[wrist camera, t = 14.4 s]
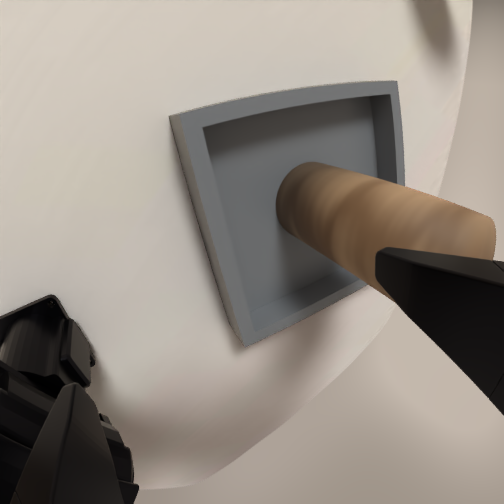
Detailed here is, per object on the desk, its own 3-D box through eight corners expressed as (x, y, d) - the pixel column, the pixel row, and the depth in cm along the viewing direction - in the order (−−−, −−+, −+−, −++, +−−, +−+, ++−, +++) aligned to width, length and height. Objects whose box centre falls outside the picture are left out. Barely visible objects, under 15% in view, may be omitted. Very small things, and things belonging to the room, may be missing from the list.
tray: (230, 324, 24) (245, 347, 22) (169, 116, 17) (178, 114, 14) (380, 251, 29) (402, 263, 26) (369, 80, 21) (396, 80, 19)
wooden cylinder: (327, 240, 24) (465, 326, 13) (266, 232, 22) (415, 340, 11) (347, 172, 23) (504, 226, 12) (287, 153, 20) (468, 204, 9)
